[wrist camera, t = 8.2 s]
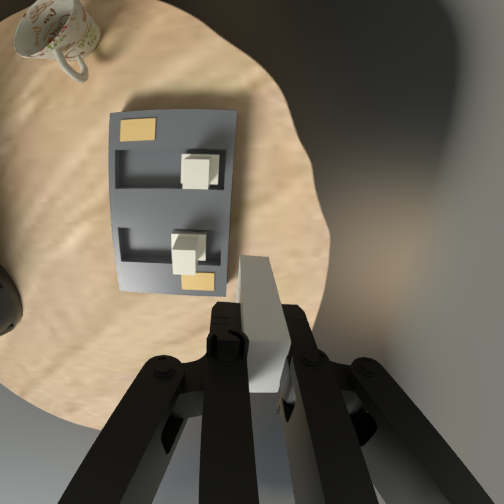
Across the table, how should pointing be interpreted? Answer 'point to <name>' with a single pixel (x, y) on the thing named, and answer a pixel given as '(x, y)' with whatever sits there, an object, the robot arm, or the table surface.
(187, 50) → the table surface
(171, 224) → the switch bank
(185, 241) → the tab
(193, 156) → the tab
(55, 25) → the mug
